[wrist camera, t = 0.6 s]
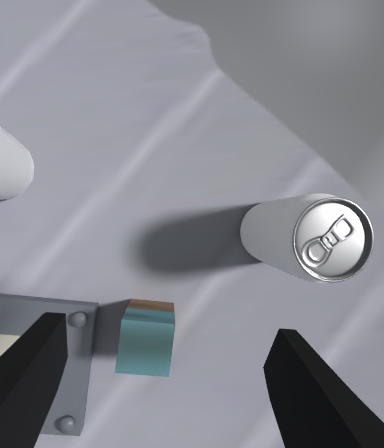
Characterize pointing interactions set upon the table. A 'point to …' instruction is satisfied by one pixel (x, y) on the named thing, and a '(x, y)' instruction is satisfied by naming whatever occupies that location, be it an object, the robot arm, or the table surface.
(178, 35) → the table surface
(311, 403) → the robot arm
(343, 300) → the table surface
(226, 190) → the table surface
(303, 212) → the grey cylinder
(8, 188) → the foam cup
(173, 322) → the teal and brown block
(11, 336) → the plate
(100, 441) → the table surface
